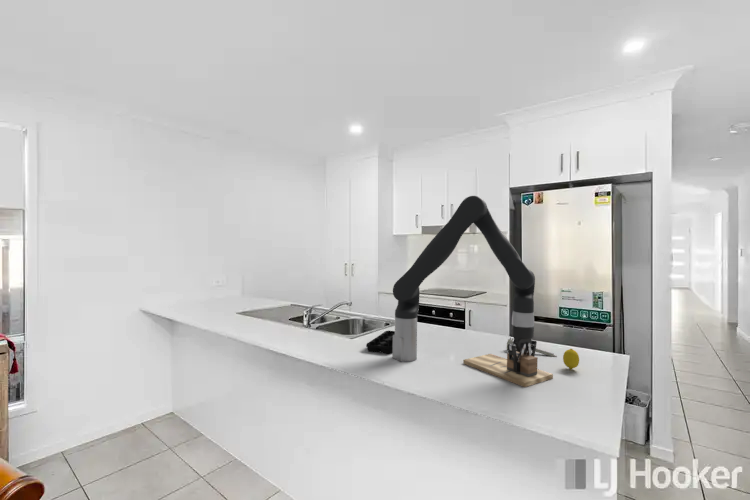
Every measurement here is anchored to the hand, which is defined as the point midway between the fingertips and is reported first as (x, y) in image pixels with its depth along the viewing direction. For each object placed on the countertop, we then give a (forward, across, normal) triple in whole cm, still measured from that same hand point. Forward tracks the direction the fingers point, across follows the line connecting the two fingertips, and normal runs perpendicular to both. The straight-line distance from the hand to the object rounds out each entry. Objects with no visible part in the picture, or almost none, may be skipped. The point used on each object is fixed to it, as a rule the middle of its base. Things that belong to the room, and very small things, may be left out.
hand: (521, 370), depth 134 cm
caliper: (+3, -28, -16) cm, 33 cm away
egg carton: (+3, +18, -58) cm, 61 cm away
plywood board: (+2, 0, -7) cm, 7 cm away
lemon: (+2, -23, +5) cm, 24 cm away
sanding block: (0, 0, 0) cm, 0 cm away
